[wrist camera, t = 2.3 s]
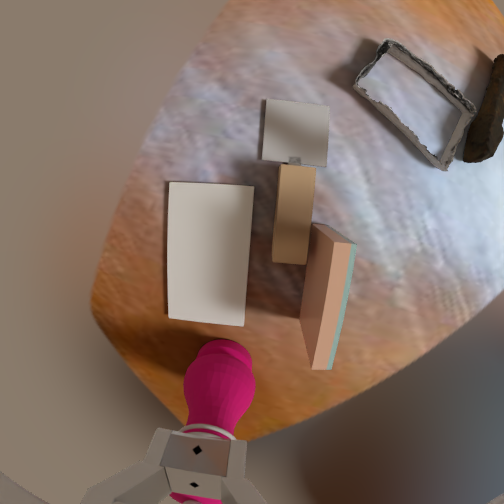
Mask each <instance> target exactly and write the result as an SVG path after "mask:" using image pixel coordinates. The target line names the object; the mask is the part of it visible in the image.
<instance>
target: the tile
mask: <svg viewBox="0 0 504 504" xmlns="http://www.w3.org/2000/svg"><path fill="white" fill-rule="evenodd" d="M356 247H357V244H356V243H354V242H353V241H351V240H350V239H348V238H347V237H345V236H344V235H342V234H341V233H339V232H338V231H336V230H335V229H333V228H332V227H330V226H329V225H322V224H312V226H311V235H310V244H309V252H308V260H307V268H306V276H305V283H304V290H303V297H302V304H301V311H300V317H299V320H300V324H301V328H302V332H303V336H304V340H305V344H306V348H307V353H308V357H309V361H310V365H311V369H315V370H331V369H332V365H333V361H334V357H335V353H336V349H337V345H338V341H339V336H340V332H341V328H342V323H343V319H344V314H345V309H346V304H347V299H348V294H349V289H350V283H351V278H352V272H353V266H354V260H355V254H356Z"/></svg>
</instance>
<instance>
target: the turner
mask: <svg viewBox="0 0 504 504" xmlns="http://www.w3.org/2000/svg"><path fill="white" fill-rule="evenodd" d="M329 116H330V106H323V105H316V104H309V103H301V102H293V101H283V100H272V99H267V100H266V113H265V126H264V139H263V152H262V160H263V161H275V162H285V163H288V165H285V164H281V165H280V166H279V170H278V182H277V194H276V206H275V218H274V229H273V240H272V260H273V262H277V263H289V264H302V265H306V262H307V254H308V246H309V237H310V228H311V219H312V209H313V199H314V188H315V176H316V168H312V167H304V166H301V164H304V165H313V166H321V167H326V165H327V151H328V135H329Z"/></svg>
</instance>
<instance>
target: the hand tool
mask: <svg viewBox="0 0 504 504" xmlns="http://www.w3.org/2000/svg"><path fill="white" fill-rule="evenodd" d="M492 69H493V74H492V76H491V81H490V84H489V86H488V88H487V89H486V91H487V92H486V95H485V97H484V101H483V103H482V106H481V108H480V111H479V113H478V116H477V117H476V119H475V120H474V121H473V122H471V124H470V127H469V131H468V134H467V140H466V144H465V150H464V157H463V161H464V162H466V163H477V162H482V161H483V160H486V159H488V158H490V157H492V156H493V155H494V153H495V151H496V150H497V147H498V145H499V143H500V142H501V140H502V138H503V135H504V131H503V127H502V123H503V119H504V54H500V55H498V56H497V58H495V59H494V66H493V67H492Z"/></svg>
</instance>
